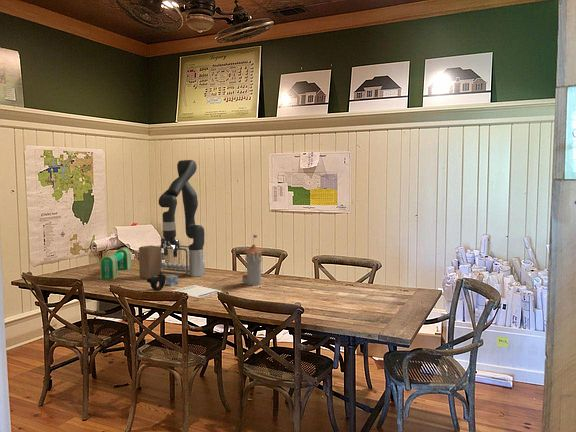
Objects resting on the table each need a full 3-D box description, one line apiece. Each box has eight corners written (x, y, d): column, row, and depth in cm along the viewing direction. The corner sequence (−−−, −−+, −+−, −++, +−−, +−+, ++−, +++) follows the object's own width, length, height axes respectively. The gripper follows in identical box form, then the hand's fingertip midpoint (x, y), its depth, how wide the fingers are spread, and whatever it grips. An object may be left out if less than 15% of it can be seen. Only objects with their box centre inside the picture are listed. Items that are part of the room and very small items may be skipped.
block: (148, 279, 296) (147, 248, 295) (139, 277, 302) (138, 246, 301) (161, 277, 304) (160, 246, 303) (152, 275, 310) (151, 245, 309)
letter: (194, 285, 282) (194, 284, 282) (222, 291, 267) (222, 290, 267) (170, 291, 268) (170, 290, 268) (198, 298, 253) (198, 297, 253)
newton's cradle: (151, 271, 321) (150, 245, 320) (161, 268, 331) (160, 243, 329) (187, 275, 309) (186, 248, 307) (196, 272, 319) (196, 246, 317)
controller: (167, 288, 274) (167, 271, 273) (151, 293, 264) (150, 275, 263) (162, 287, 277) (161, 270, 276) (145, 292, 266) (145, 274, 265)
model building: (259, 286, 277) (258, 236, 275) (239, 286, 280) (239, 235, 277) (265, 281, 291) (264, 233, 288) (246, 280, 293) (245, 232, 291)
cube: (172, 283, 287) (172, 275, 287) (178, 284, 284) (178, 276, 284) (166, 284, 283) (166, 276, 283) (171, 286, 280) (171, 277, 280)
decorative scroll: (119, 268, 334) (118, 247, 333) (131, 268, 335) (130, 247, 333) (100, 279, 299) (99, 256, 297) (113, 279, 299) (113, 256, 298)
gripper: (182, 229, 278) (183, 256, 280) (166, 227, 286) (168, 253, 288) (171, 230, 272) (173, 258, 274) (156, 229, 280) (157, 256, 282)
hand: (170, 256), depth 281 cm, fingers open, 8 cm apart
